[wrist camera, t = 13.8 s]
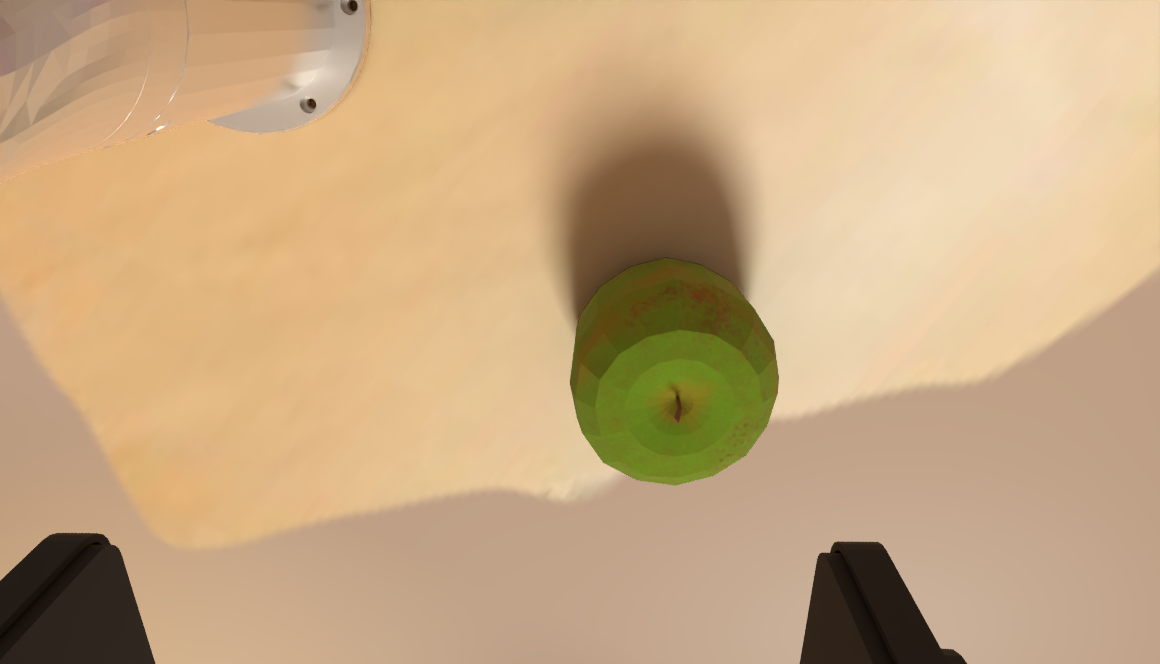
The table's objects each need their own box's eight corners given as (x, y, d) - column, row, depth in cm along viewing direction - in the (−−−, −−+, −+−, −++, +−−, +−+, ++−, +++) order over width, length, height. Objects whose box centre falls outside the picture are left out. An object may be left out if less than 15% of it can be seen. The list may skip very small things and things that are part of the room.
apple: (682, 437, 47) (706, 550, 37) (538, 358, 45) (523, 454, 35) (788, 301, 44) (847, 386, 34) (637, 208, 41) (652, 268, 31)
